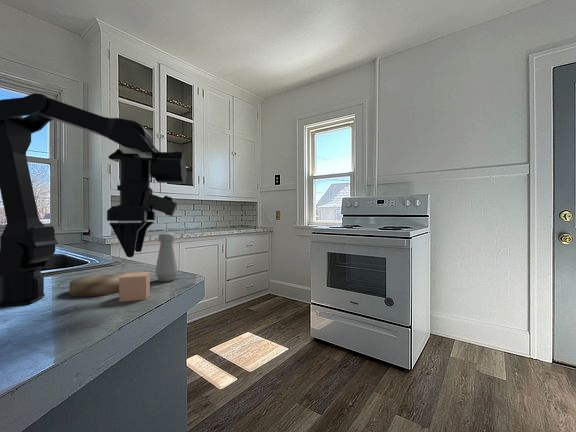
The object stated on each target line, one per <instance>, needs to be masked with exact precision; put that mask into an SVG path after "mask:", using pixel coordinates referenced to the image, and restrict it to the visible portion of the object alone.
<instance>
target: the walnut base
mask: <svg viewBox="0 0 576 432" xmlns="http://www.w3.org/2000/svg"><path fill="white" fill-rule="evenodd" d="M123 274H124V273H123ZM123 274H122V273H110V274H109V273H108V274H98V275H90V276H84V277H83V276H82V277H80V278H79V277H78V278H76V279H73V280H70V281H69V295H70V296H73V297H84V298H85V297H97V296H107V295H111V294H115V293H119V278H120V277H121V276H122V275H123Z"/></svg>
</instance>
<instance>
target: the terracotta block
mask: <svg viewBox="0 0 576 432" xmlns="http://www.w3.org/2000/svg"><path fill="white" fill-rule="evenodd" d="M150 275H151V272H150V271H141V272H125V273H123V275H122V276H121V277H120V278H119V292H118V296H119V297H118V298H119V300H118V301H119V303H121V302H131V301H132V302H133V301H145V300H147V299H148V297H149V295H150V293H151V291H150V289H151V288H150V287H151V286H150V285H151V284H150V280H151V279H150V278H151V276H150Z"/></svg>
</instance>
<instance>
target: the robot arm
mask: <svg viewBox="0 0 576 432" xmlns="http://www.w3.org/2000/svg"><path fill="white" fill-rule="evenodd" d="M51 121H57V122H60V123H63V124H66V125H68V126H72V127H74V128H76V129H77V128H78V129H81V130H84V131H85V132H89V133H92V134H96V135H98V136H102V137H104V138H106V139H108V140H110V141H111V142H114V143H116V144H118V145H119V146H121V147H123V148H125V149H126V150H129V151H131V152H132V153H129V152H127V153H126V152H124V151H123V150H121V149H119V148H117V149H116V150H115V151H114V152H112V153H110V154H109V155H108V159H109V160H111V161H114V162H116V163H119V184H117V185H116V186H117V188H116V189H117V190H116V191H118V192H119V204H117V205H112V206H111V207H110V208H108V210H106V221H107V222H109V223H108V224H109V226H111V229H112V230H113V232H114V234H115V237H116V238H117V240H118V242H119V243H120V246H121V248H122V249H123V251H124V253H125V256H126V257H127V258H133V257H134V255H135V252H137V253H141V252H142V250H143V246H144V242H145V238H146V234H147V231H148V229H149V227H151V226H152V225H153V224H155V221H156V220H157V219H156V212H155V211H158V212H161V213H164V214H165V215H166V216H170V217H173V215H174V213H175V211H176V208H177V206H178V203H177V202H175V201H173V197H172V196H169V195H164V196H163V197H161V196H158V195H156V194H153V189H152V188H151V187H150V186H151V185H150V182H151V181H150V180H151V179H150V177H151V178H152V179H154V180H155V181H156V183H158V184H159V183H161V184H165V183H166V184H185V183H186V181H187V172H188V171H187V168H186V161H185V154H184V153H183V152H182V151H172V152H169V151H168V152H167V151H159V149H157V148H156V146H155V145H154V140H153V136H152V134H151V133H150V132H149V131H148V130H147V129H146V128H144V126H143V125H141V123H138V122H137V121H135V120H131V119H125V118H120V117H107V116H102V115H99V114H96V113H93V112H90V111H88V110H85V109H81V108H79V107H77V106H74V105H70V104H67V103H65V102H62V101H59V100H57V99H54V98H51V97H49V96H46V95H45V94H43V93H36V92H35V93H31V94H29V95H26V96H24V97H23V96H22V97H14V98H6V99H0V195H1V200H2V205H3V209H4V215H5V219H6V224H5V227H4V229H3V230H2V233H1V235H0V307H9V306H10V307H11V306H21V305H30V304H32V303H34V302H36V301H38V300H41V298H44V297H45V296H46V294H45V292H44V291H45V284H44V283H45V280H44V279H45V277H44V276H43V275H42V269H45V268H46V266H47V264H48V262H49V259H51V258H52V256H53V255H54V254H55V252H56V246H57V245H59V242H58V241H57V239H56V234H55V231H56V230H55V228H54V226H52V225H51V226H50V225H49V226H46V225H45V224H44V223H43V222H42V221H41V219H40V215H39V212H38V208H37V202H36V197H35V194H34V193H35V191H34V188H33V182H32V178H31V173H30V167H29V164H28V158H27V151H28V149H29V147H30V146H31V144H32V135H33V134H34V133H37V132H39V131H41V130H42V129H44V127H45V126H46V125H48V123H50V122H51ZM143 154H144V155H146V156H147V157H141V156H140V155H143ZM154 210H155V211H154ZM113 221H114V222H113ZM115 221H116V222H115Z"/></svg>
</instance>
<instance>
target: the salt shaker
mask: <svg viewBox="0 0 576 432" xmlns="http://www.w3.org/2000/svg"><path fill="white" fill-rule="evenodd" d="M157 239H158V240H157V241H158V242H160V245H159V250H158V255H157V260H156V266H155V271H154V273H155V276H156V278H157V280H158V281H159V282H172V280H173V281H174V280H175V279H176V276H177V274H178V273H179V270H178V264H177V259H176V253H175V248H174V247H175V246H174V242H175V241H176V235H175V234H174V233H173V232H162V233H159V234H158V237H157Z"/></svg>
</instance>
